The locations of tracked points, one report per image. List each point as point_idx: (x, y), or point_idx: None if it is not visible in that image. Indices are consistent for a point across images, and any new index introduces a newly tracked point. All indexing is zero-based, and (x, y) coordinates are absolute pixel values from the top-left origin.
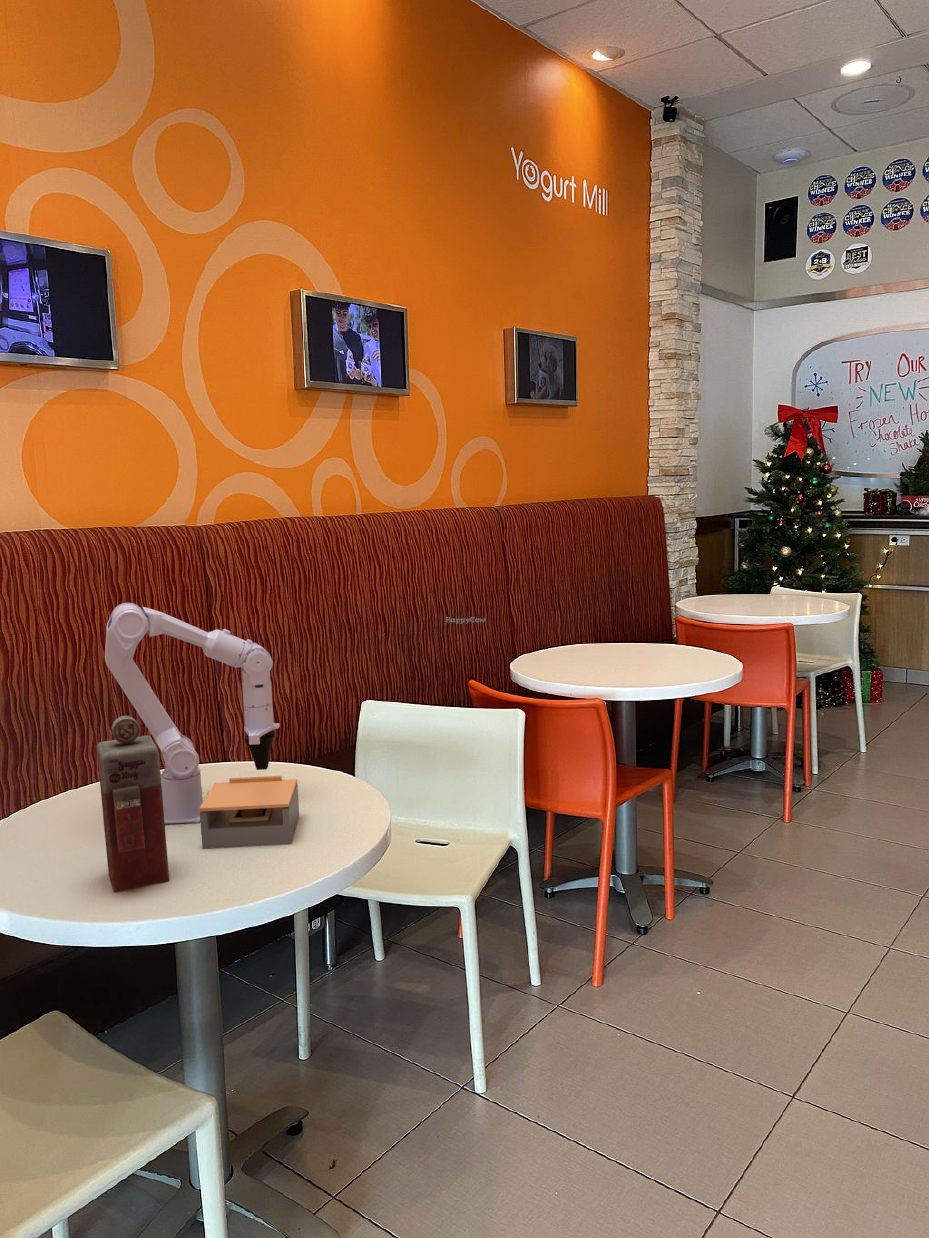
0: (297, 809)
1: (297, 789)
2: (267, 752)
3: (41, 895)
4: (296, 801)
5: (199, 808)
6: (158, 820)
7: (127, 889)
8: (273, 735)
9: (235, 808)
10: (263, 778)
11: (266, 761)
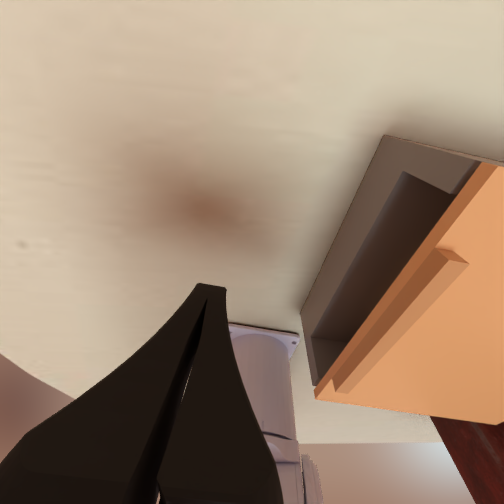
0: (443, 149)
1: (461, 155)
2: (236, 365)
3: (435, 432)
4: (487, 160)
5: (495, 423)
6: None
7: None
8: (128, 496)
9: None
10: (412, 322)
11: (225, 317)
